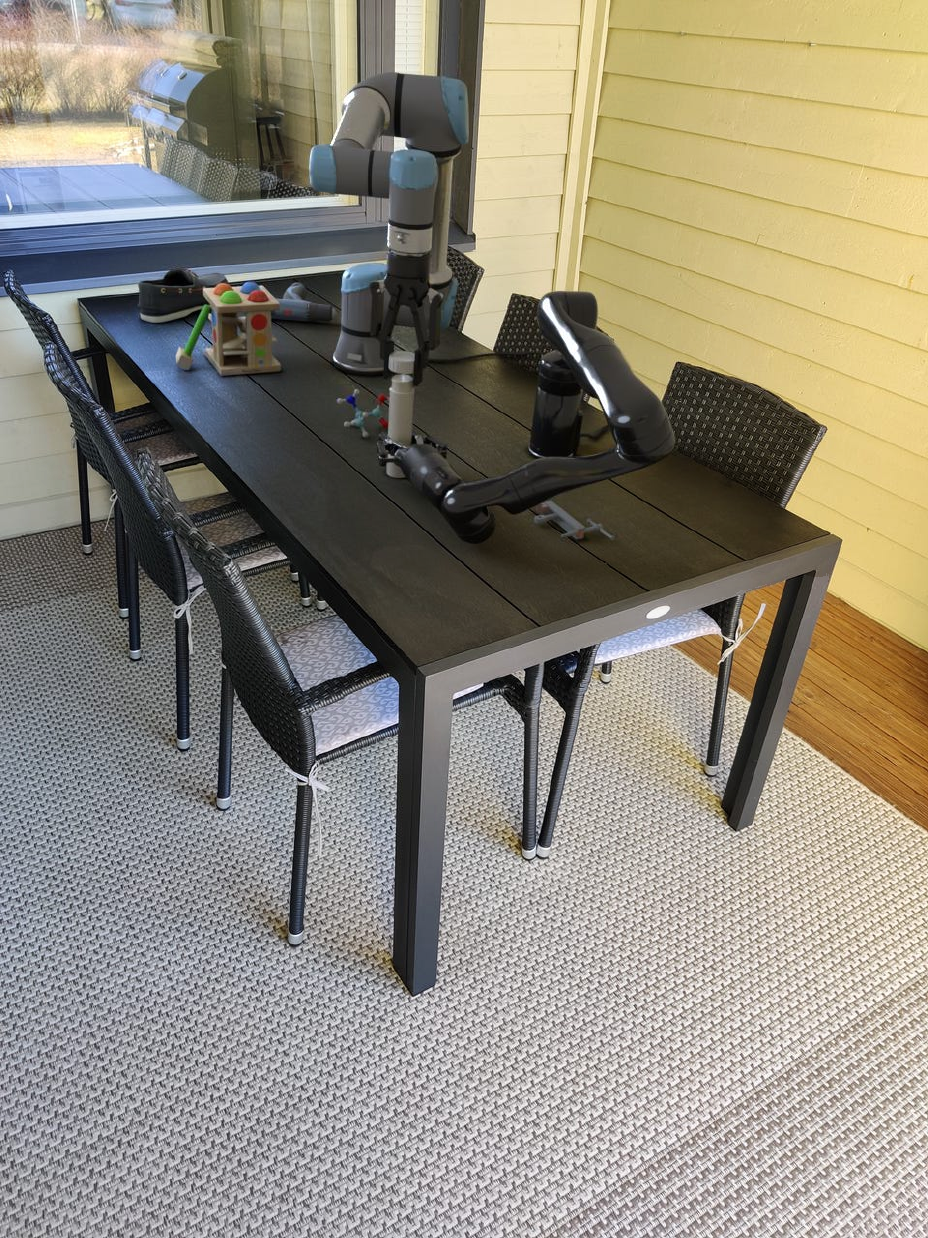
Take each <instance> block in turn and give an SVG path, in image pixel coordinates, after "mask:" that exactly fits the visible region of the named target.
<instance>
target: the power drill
mask: <svg viewBox="0 0 928 1238" xmlns="http://www.w3.org/2000/svg"><path fill="white" fill-rule="evenodd" d="M307 295H308V290H307V287H306V285H304V284H303V283H301V282H293V283H292V284H291V285H290V286H289V287H288V288H287V289H286V291H285V292H284V294H283V297H282V298H275V299H276V300H277V301H278V302H279V303H280V310H271V319H274V320H275V319H276V320H283V321H294V322H295V321H297V322H332V321H333V320H334V319H336V318H337V317H338V312H337V311H336V308H334V307H333V306H332V305H331V304H324V303H317V302H313V301H307V300H305V299H306V297H307Z"/></svg>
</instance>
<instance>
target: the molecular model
mask: <svg viewBox="0 0 928 1238" xmlns="http://www.w3.org/2000/svg"><path fill="white" fill-rule="evenodd" d="M360 394H361V392H360V390H359V389H358V388H355V389H354V390H353V394H352V395H348V397H347V398H341V397H339V398H337V400H336V403H337V404H338V405H342V404H343V403H348V404H350V405H352V407H353V408H354V411H355V415H354V416H355V418H354V419H353V420H351V421H345V422H344V423H343V426H344V427H345V428H350V426H352V427H357V428H360V430H361V432H362V437H363V438H368V437H369V436H370V435H369V432H368V431H366V430H365V427H364V424H365V421H364V420H365V419H367V418H368V417H369V416H373V418H376V419H377V420H378V421H379V423H380V425H381V427H382V428H383V429H388V421H387V420H386V419H385V418H384V417H383V415H382V411H381V406H382V404H383V403H384V402H385V401H389V397H387V396H385V395H384V394H379V395H378V396H377V400H378V404H377V406H376V408H374V409H373V410H372V411H371V412H367V411H364V412H363V411H361V410H359V408H358V406H357V404H356V397H357V396H359V395H360Z"/></svg>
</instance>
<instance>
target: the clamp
mask: <svg viewBox="0 0 928 1238" xmlns="http://www.w3.org/2000/svg"><path fill="white" fill-rule="evenodd" d="M535 513H536V514H539V515H534V517H533V522H534V524H537V525H541V524H545V523H547V522H548V521H553V522H554V523H556V524H557V525H558V526H559V527H561V528H562V529H563V530H564V531H565V533H562V534H560V537H561V538H565V537H569V538H570V537H573V538H574V539H575V540H581V539H584V537H585V536H584V535H585V534H586V533H591V532H595V533H598V532H601V533H602V534H603V535H605V536H606V537H607V538H609V541H611V542H612V541H614V540H615V538H616V537H615V536H614V535H611V534H610V533H608V531H606V530H604V526H603V524H602V523H597V524H596V523H595V522H594V521H593V520H592V518H587V521H586V523H587V524H588V525H591V526H590V527H589V526H588V527H585V526H584V525H583V524H582V523H580V522H579V521H578V520H577V519H575V518H574V517H573V516H571V515H570V514H569V513H568V512H567V511H565V510H564V509H563V508H561V506H559V505H558V504H556V503H555V502H553V500H547V501H545V502H543V503H541V504H539V505H537V506H536V510H535Z"/></svg>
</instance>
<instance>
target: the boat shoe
mask: <svg viewBox="0 0 928 1238" xmlns="http://www.w3.org/2000/svg"><path fill="white" fill-rule="evenodd" d="M221 283H226V284H228V285H230V282H229V280H228V279H227V277H226V276H225V274H223V273H220V272H211V273H205V274H201V275H198V274H197V273H195V272H194V271H192V270H190V269H189V268H182V267H180V266H176V267H173V268H171V269H170V270H168V271H167V272H166V273H165V274H164V276H163V277H162V278H158V279H143V280H139V281H138V282H137V285H138V286H137V287H138V293H139V294H138V295H139V296H138V301H139V302H138V303H137V307H139V308H140V319H141V320H143V321H145V322H148V323H152V324H158V323H160V324H161V323H166V322H170V321H173V320H177V319H181V318H184V317H187V316H188V315H190V314H191V313H193V312H196V311H199V310H202V309H203V307H204V305H208V306H210V307H211V305H210V304H209V302H208V301H207V300H206V299H205V297H204V296H203V289H204V288H215V287H216V286H217V285H218V284H221Z"/></svg>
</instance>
